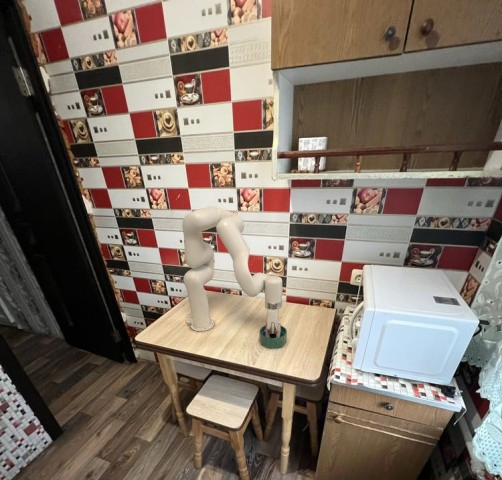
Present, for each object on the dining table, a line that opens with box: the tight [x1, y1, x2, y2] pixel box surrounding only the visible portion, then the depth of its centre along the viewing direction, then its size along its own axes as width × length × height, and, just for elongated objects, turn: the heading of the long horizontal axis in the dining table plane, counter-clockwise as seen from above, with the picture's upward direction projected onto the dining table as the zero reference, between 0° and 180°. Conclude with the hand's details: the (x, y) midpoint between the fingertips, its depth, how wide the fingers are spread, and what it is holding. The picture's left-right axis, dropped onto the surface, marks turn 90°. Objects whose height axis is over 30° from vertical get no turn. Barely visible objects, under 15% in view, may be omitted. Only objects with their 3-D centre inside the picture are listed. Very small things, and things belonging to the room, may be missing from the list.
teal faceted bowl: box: [258, 324, 288, 349], centre depth 133 cm, size 13×13×6 cm
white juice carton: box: [265, 321, 282, 338], centre depth 132 cm, size 4×7×10 cm, turn 77°
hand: (272, 337), depth 134 cm, fingers closed on white juice carton, 4 cm apart
